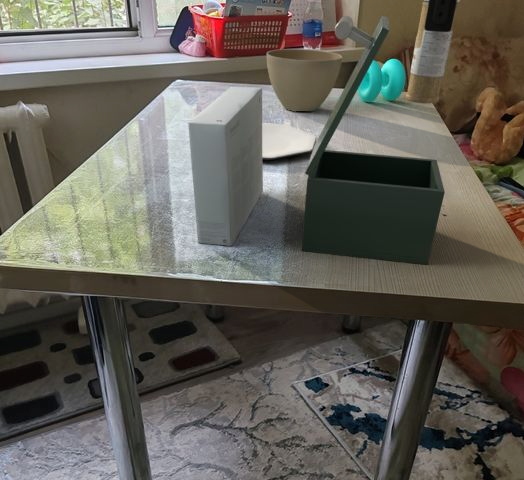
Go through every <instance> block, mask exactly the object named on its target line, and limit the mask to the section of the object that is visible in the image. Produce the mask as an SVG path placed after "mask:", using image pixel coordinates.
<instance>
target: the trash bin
mask: <svg viewBox="0 0 524 480" xmlns="http://www.w3.org/2000/svg"><path fill="white" fill-rule="evenodd" d="M445 194H446V192H445V187H444V184H443V180H442V175H441V172H440V169H439V164H438V159H435V158H423V157H421V158H420V157H409V156H399V155H389V154H388V155H387V154H376V153H375V154H374V153H366V152H355V151H354V152H353V151H344V150H343V151H341V150H331V149H330V150H329V149H325V151H324V153H323V154H322V156H321V158H320V160H319V162H318V164H317V166H316V167H315V169H314V171H313V173H312V175H311V176H308V175H307V179H306V189H305V202H304V215H303V225H302V238H301V239H302V241H301V252H308V253H317V254H326V255H334V256H335V255H337V256H345V257H353V256H356V257H357V258H362V257H363V258H364V259H371V258H372V259H373V260H382V261H391V262H399V263H408V264H417V265H426V266H427V265H429V259H430V256H431V252H432V248H433V243H434V239H435V235H436V231H437V226H438V222H439V218H440V215H441V211H442V207H443V202H444V198H445ZM356 257H355V258H356Z"/></svg>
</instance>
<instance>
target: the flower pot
mask: <svg viewBox="0 0 524 480" xmlns="http://www.w3.org/2000/svg"><path fill="white" fill-rule="evenodd" d="M342 62H343V56H342V54H339V53H336V52H331V51H324V50H317V49H303V48H302V49H301V48H284V49H273V50H269V51H267V52H266V67H267V72H268V77H269V81H270V84H271V87H272V89H273V92H274V94H275V96H276V98H277V99H278V101H279V102H280V105H281V106H282V107H283V108H284V109H285V110H287V109H288V110H287V111H290V110H291V111H290V112H296V111H311V112H314V111H313V110H315V111H317V110H318V109H319V108H320V107H321V106H322V105H323V103H324V102H325V101H326V99H327V98H328V97H329V95H330V94H331V92H332V90H333V88H334V87H335V85H336V82H337V79H338V77H339V74H340V70H341V67H342Z"/></svg>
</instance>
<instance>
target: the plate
mask: <svg viewBox="0 0 524 480" xmlns="http://www.w3.org/2000/svg"><path fill="white" fill-rule="evenodd" d="M316 142H317V136H316V135H315V134H313V133H311V132H307V131H305V130H303V129H299V128H298V127H295V126H291V125H289V124H282V123H272V122H271V123H270V122H262V160H267V161H268V160H269V161H270V160H271V161H272V160H278V159H284V158H289V157H294V156H299V155H304V154H309V153H312V152H313V149H314V146H315V143H316Z"/></svg>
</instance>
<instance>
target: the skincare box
mask: <svg viewBox="0 0 524 480" xmlns="http://www.w3.org/2000/svg"><path fill="white" fill-rule="evenodd" d="M262 123H263V88H262V87H253V86H252V87H250V86H249V87H248V86H230V87H229V88H228V89H226V90H225V91H224V92H223V93H222V94H220V95H219V96H218V97H217V98H216V99H214V100H213V101H212V102H210V103H209V104H208V105H207V106H206V107H205V108H204V109H202V110H201V111H200V112H198V113H197V115H195V116H194V117H193V118H191V120H189V121H188V122H187V125H188V139H189V152H190V162H191V174H192V175H191V176H192V187H193V197H194V199H193V200H194V212H195V214H194V215H195V225H196V238H197V243H200V244H209V245H218V246H227V247H232V246H233V245H234V243H235V241H236V239H237V238H238V236H239V234H240V232H241V231H242V229H243V227H244V225H245V224H246V222H247V220H248V218H249V217H250V215H251V213H252V211H253V210H254V208H255V206H256V205H257V202H258V200H259V199H260V197H261V195H262V194H263V191H264V175H263V173H264V169H263V166H264V165H263V164H264V163H263V159H262Z"/></svg>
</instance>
